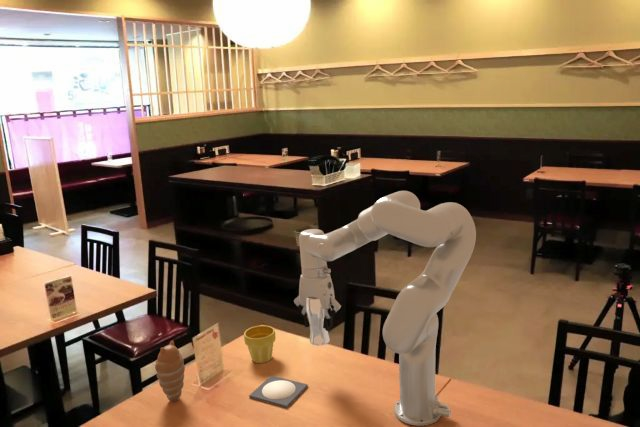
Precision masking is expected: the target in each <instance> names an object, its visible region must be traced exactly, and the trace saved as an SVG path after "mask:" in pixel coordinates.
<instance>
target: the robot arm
mask: <svg viewBox="0 0 640 427" xmlns="http://www.w3.org/2000/svg"><path fill="white" fill-rule="evenodd" d="M386 235H390V236H393V237H396V238H398V239H401V240H403V241H407V242H410V243H412V244H414V245H418V246H420V247H426V248H435V249H434V250H433V252H432V254H431V256H430V257H429V260H428V262H427V264H426V266H425V267H424V270H423V271H422V272H421V273H420V274H419V275H418V276H417V277H416V278H414V279H413V280H412V281H410V282H409V283H408V284H406V285H405V286H404V287H403V288H402V289H401V290H400V292H399V293H398V294H397V296H396V298H395V301H394V303H393V305H392V306H391V309H390V311H389V313H388V315H387V316H386V317H387V318H386V319H385V321H384V323H383V327H382V337H383V341H384V342H383V343H385V345H386V347H387V348H388V350H390V351H391V352H393V353H395V354H398V362H399V363H398V371H399V374H398V375H399V376H398V377H399V399H398V400H397V401H396V402H395V403H394V406H393V410H394V411H393V412H394V415H395V416H396V418H397V419H398V420H400V421H401V422H403V423H405V424H406V425H407V424H408V425H411V426H417V427H424V425H425V426H429V424H430V425H432V424H434V423H436V422H438V421H439V420H440V418H441V416H443V417H446V418H450V417H451V414H452V410H451V409H449V407H450V406H449V404H446V403H441V402H440V401H439V396H438V395H436V350H437V348H436V345H437V339H438V338H437V337H438V333H439V332H438V330H439V317H438V314H437V313H438V312H439V311H440V310H441V309H443V308H444V307H445V306H446V305H447V304H448V302H449V300H450V299H451V296H452V293H453V292H454V290H455V288H456V286H457V284H458V282H459V281H460V279H461V277H462V274H463V273H464V270H465V269H466V267H467V265H468V263H469V261H470V259H471V257H472V255H473V252H474V249H475V245H476V239H477V229H476V224H475V222H474V219H473V217H472V216H471V214H470V212H469V211H468V209H467V208H466V207H464V206H463V205H461V204H459V203H458V202H453V201H452V202H451V201H450V202H449V201H448V202H444V203H443V202H442V203H439V204H437V205H435V206H434V207H431V208H429V209H427V210H423V209H421V202H420V200H419V198H418V197H417V196H416V194H414V193H413V192H411V191H408V190H399V191H396V192H393V193H390V194H388V195H385V196H383V197H380V198H379V199H378V200H376V202H374V204H373V205H371V206H369V207H368V208H366V209H364V210H362V211H361V212H359V214H358V217H357V218H356V219H355V220H353V221H351V222H350V223H348V224H346V225H344V226H341V227H340V228H337V229H335V230H333V231H330V232H327V233H324V231H323V230H321V229H318V228H310V229H305V230H303V231H301V232H300V233H299V236H298V241H299V252H300V266H301V274H300V277H299V286H298V287H299V288H298V295H297V297H295V298H294V300H293V302H294V304H295V306H296V307H297V308H298V310H300V312H301V314H302V315H303V323H304V328H308V327H310V326H309V322H308V318H307V313H306V297H308V298H312V299H320V303H321V306H322V309H323V310H325V316H326V318H325V330H326V331H328V332H329V331H330V329H332V328H333V326H334V324H333V323H334V322H333V321H334V320H333V316H334V315H335V314H336V313H337V312H339V310H340V309H341V307H342V305H341V304H340V303H339V302H338V300H336V298H335V297H336V296H335V290H334V284H333V281H332V278H331V272H332V271H331V268H328V264H327V263H328V262H333V261H335V260H337V259H339V258H341V257H343V256H345V255H347V254H349V253H351V252H354V251H356V250H357V249H359V248H361V247H362V246H364V245H367V244H368V243H370V242H373V241H377V240H379V239H381V238H383V237H385V236H386ZM331 306H333V308H332V307H331ZM327 309H329V312H328V310H327Z"/></svg>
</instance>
